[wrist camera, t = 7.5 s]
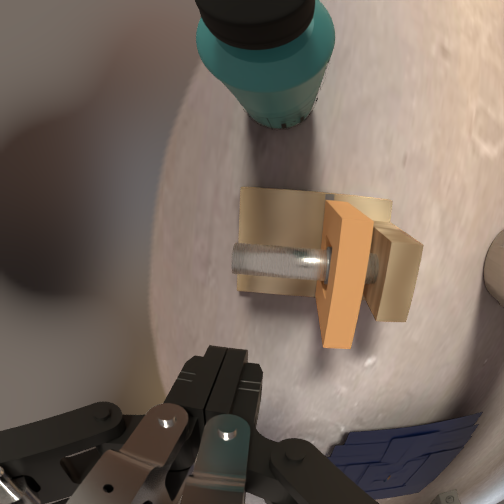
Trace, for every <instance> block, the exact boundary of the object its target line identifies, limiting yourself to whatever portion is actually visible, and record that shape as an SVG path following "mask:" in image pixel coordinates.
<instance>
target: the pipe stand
mask: <svg viewBox="0 0 504 504" xmlns="http://www.w3.org/2000/svg"><path fill="white" fill-rule="evenodd" d="M325 200H333V201H343V202H348V203H350V204H351V205H352V206H354V207H355V208H357V209H358V210H359V211H361V212H362V213H363V214H365V215H366V216H367V217H369V218H370V219H371V220H373V221H374V225H373V233H372V240H371V247H370V254H369V260H368V266H367V272H366V278H365V283H364V289H363V294H362V299H361V300H366V301H367V304H368V306H369V308H370V310H371V312H372V314H373V316H374V318H375V320H376V321H383V322H406V320H407V316H408V313H409V309H410V305H411V301H412V297H413V293H414V289H415V284H416V280H417V275H418V271H419V266H420V261H421V256H422V251H423V244H421V243H420V242H418V241H417V240H416V239H414V238H413V237H411V236H410V235H408V234H407V233H405V232H404V231H402V230H401V229H399V228H398V227H396V226H395V225H393V224H392V223H390V218H391V210H392V201H391V200H388V199H380V198H372V197H363V196H354V195H345V194H335V193H324V192H313V191H301V190H288V189H273V188H257V187H241V191H240V217H239V243H235V244H234V247H233V253H232V273H233V274H238V275H237V291H246V292H257V293H269V294H281V295H293V296H306V297H315V292H316V284H317V281H324V284H327V285H328V277H329V270H330V262H331V255H332V247H327V249H326V250H323V249H321V242H322V232H323V222H324V211H325ZM315 298H316V297H315Z"/></svg>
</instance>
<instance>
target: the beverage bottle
mask: <svg viewBox="0 0 504 504" xmlns="http://www.w3.org/2000/svg"><path fill="white" fill-rule="evenodd" d="M195 2H196V4H197V6H198V8H199V10H200V14H201V19H200V21H199V24H198V28H197V32H196V35H197V36H196V43H197V49H198V53H199V55H200V58H201V60H202V61H203V63H204V65H205V66H206V67H207V69H208V70H209V71H210V72H211V73H212V74H213V75H214V76H215V77H216V78H217V79H219V80H220V81H221V82H222V83H223V84H224V85H225V86H226V87H227V88H228V89H229V90H230V91H231V92H232V94H233V95H234V96H235V97H236V98H237V100H238V101H239V102H240V104H241V105H242V106H243V107H244V108H245V110H246V111H247V112H248V114H249V115H250V116H251V117H252V118H253V119H254V121H256V122H258V123H260V125H261V126H264V127H265V128H266V127H271V128H279V129H282V128H287V129H288V128H289V127H291V126H294V125H296V124H298V123H302V121H303V120H304V119H305V118H306V117H307V115H308V114H309V113H310V111H311V109H312V107H313V105H314V101H315V99H316V96H317V95H318V90H319V87H320V85H321V82H322V79H323V76H324V73H325V75H326V72H325V70H326V69H327V68H326V65H327V66H328V63H329V59H330V57H331V55H332V52H333V48H334V44H335V30H334V25H333V22H332V19H331V17H330V15H329V13H328V11H327V10H326V8H325V7H324V5H323V4H322V3H321V2H320V1H319V0H195ZM329 65H330V64H329ZM326 77H327V76H326ZM320 90H321V89H320ZM317 99H318V97H317ZM317 99H316V102H317ZM315 104H316V103H315ZM249 115H248V116H249ZM309 115H310V114H309ZM308 117H309V116H308ZM256 122H255V123H256ZM258 123H257V124H258ZM298 125H299V124H298ZM295 127H296V126H295ZM291 128H292V127H291ZM268 129H269V128H268ZM274 130H275V129H274ZM284 130H285V129H284Z"/></svg>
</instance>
